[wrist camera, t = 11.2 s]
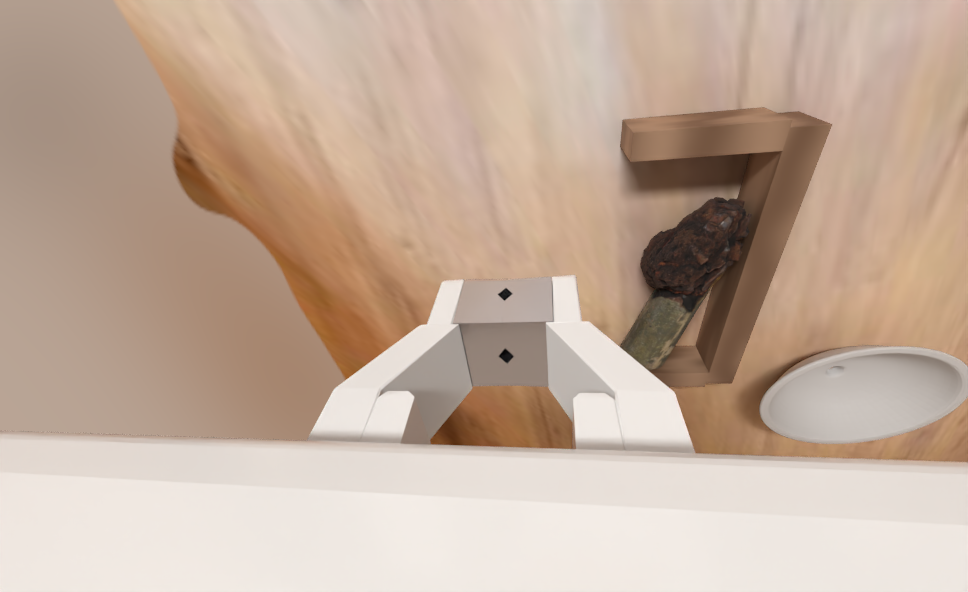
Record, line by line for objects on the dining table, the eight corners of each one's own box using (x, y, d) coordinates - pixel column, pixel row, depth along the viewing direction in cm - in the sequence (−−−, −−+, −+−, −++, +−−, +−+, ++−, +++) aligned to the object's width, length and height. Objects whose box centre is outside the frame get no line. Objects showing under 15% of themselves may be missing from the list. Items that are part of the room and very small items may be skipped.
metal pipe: (658, 345, 44) (672, 384, 39) (599, 333, 44) (606, 371, 39) (748, 196, 33) (781, 227, 28) (670, 181, 33) (690, 208, 28)
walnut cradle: (800, 104, 28) (835, 116, 25) (715, 358, 44) (730, 386, 40) (622, 119, 30) (633, 132, 27) (600, 359, 45) (605, 386, 42)
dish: (727, 408, 48) (744, 444, 44) (757, 317, 40) (782, 352, 36) (892, 405, 45) (927, 444, 41) (962, 308, 37) (1014, 344, 33)
